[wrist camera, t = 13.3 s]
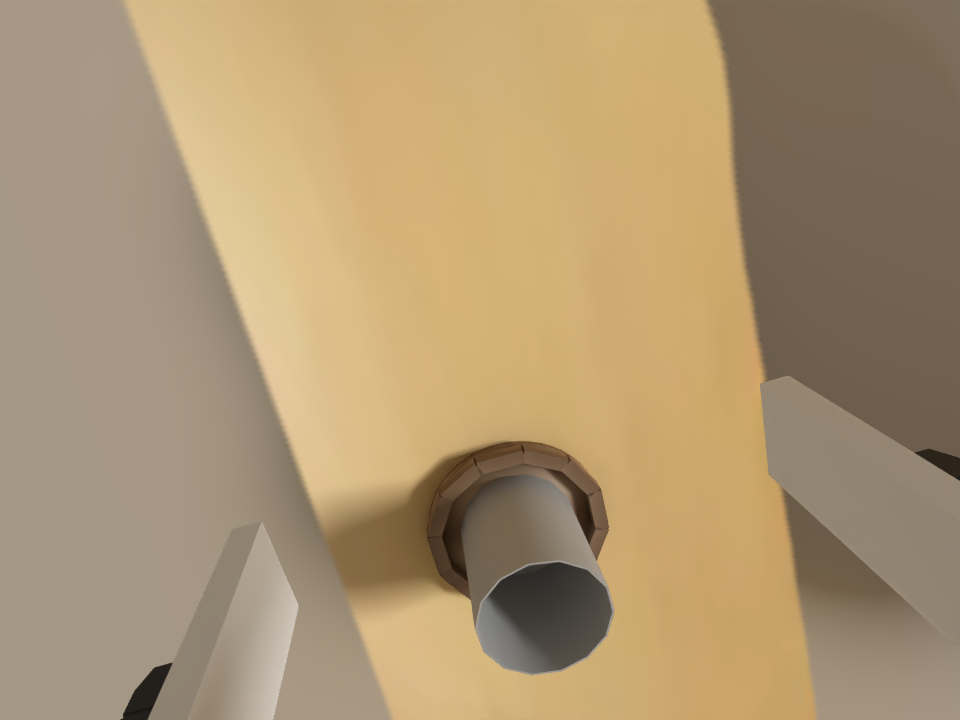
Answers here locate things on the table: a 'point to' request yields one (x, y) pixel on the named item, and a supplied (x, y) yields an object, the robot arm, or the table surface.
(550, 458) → the tray
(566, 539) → the cup
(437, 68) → the table surface
